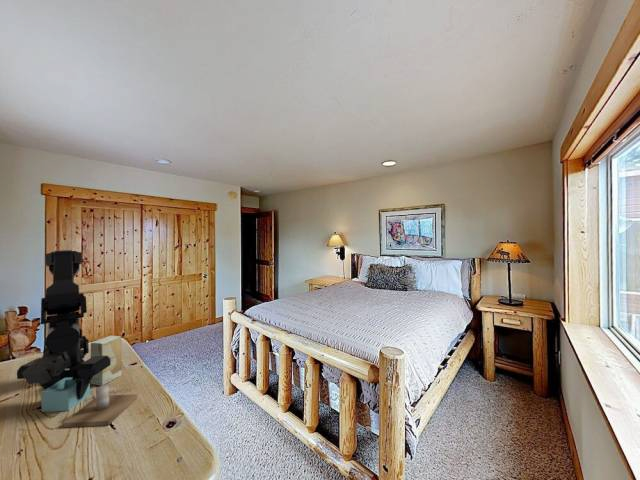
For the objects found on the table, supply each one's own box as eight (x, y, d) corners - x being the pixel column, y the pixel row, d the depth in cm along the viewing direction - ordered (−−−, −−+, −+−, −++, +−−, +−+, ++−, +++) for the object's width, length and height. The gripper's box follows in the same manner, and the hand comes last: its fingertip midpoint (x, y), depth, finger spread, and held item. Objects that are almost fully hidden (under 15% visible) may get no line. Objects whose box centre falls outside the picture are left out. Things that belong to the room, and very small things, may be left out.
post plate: (63, 427, 60) (62, 401, 60) (98, 399, 70) (97, 377, 70) (108, 425, 60) (107, 399, 60) (137, 397, 70) (136, 375, 70)
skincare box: (102, 386, 76) (101, 344, 76) (90, 384, 77) (88, 343, 77) (123, 374, 82) (122, 335, 82) (111, 373, 83) (110, 334, 83)
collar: (41, 411, 65) (41, 391, 65) (65, 395, 72) (64, 377, 71) (68, 410, 66) (68, 390, 65) (90, 395, 72) (89, 376, 72)
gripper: (-12, 355, 60) (-9, 423, 60) (74, 352, 61) (77, 419, 61) (39, 335, 71) (41, 393, 71) (111, 333, 72) (113, 390, 72)
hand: (67, 399), depth 69 cm, fingers closed on collar, 6 cm apart
